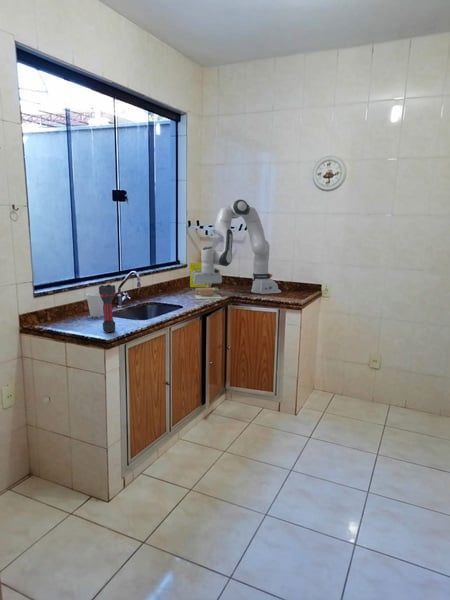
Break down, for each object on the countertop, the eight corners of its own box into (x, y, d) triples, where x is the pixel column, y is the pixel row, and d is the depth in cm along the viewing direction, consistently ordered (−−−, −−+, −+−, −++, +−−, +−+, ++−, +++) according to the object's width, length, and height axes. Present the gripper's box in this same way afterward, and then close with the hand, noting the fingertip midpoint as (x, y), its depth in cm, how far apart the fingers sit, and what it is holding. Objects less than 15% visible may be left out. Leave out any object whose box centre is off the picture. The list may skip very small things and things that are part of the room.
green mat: (219, 295, 297) (219, 294, 297) (222, 298, 285) (222, 298, 285) (195, 295, 295) (195, 295, 295) (196, 299, 282) (196, 298, 282)
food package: (208, 287, 334) (208, 262, 330) (208, 287, 333) (208, 262, 329) (190, 286, 336) (189, 262, 332) (190, 287, 335) (189, 262, 331)
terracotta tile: (213, 287, 290) (213, 289, 288) (213, 294, 293) (213, 296, 292) (200, 287, 289) (200, 289, 288) (200, 294, 293) (200, 296, 291)
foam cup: (86, 315, 234) (84, 293, 232) (102, 314, 239) (101, 291, 236) (89, 319, 226) (88, 296, 224) (106, 317, 231) (105, 294, 228)
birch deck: (216, 292, 308) (216, 287, 307) (218, 295, 298) (218, 289, 297) (195, 293, 305) (195, 288, 305) (196, 295, 296) (196, 290, 295)
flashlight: (110, 335, 195) (108, 287, 191) (97, 333, 198) (94, 286, 194) (121, 331, 202) (118, 284, 197) (108, 329, 205) (106, 283, 201)
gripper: (193, 271, 285) (193, 290, 287) (222, 270, 288) (222, 289, 291) (192, 270, 291) (192, 289, 293) (221, 269, 294) (221, 288, 297)
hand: (207, 289), depth 292 cm, fingers closed
